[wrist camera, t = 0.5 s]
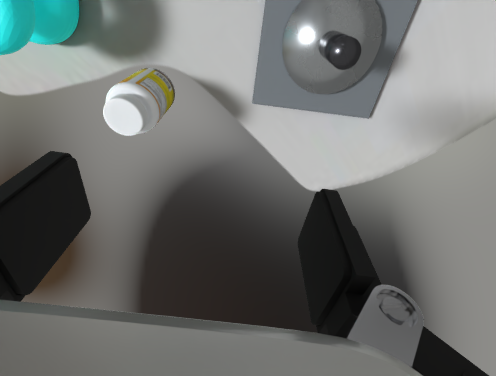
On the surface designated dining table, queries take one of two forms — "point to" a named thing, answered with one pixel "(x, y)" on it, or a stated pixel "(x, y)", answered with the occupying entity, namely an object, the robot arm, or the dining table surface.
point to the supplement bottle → (138, 102)
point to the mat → (342, 103)
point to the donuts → (36, 22)
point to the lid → (331, 43)
